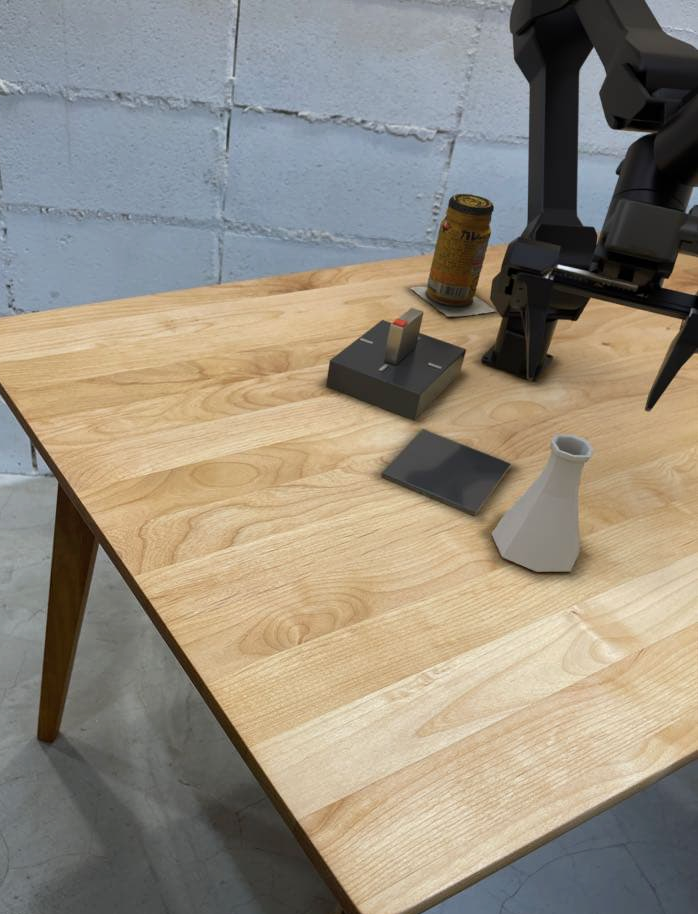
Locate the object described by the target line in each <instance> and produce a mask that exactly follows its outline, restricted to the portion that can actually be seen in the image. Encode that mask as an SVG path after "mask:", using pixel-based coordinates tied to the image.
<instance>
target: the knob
mask: <svg viewBox="0 0 698 914" xmlns="http://www.w3.org/2000/svg"><path fill="white" fill-rule="evenodd" d="M424 313H425V312H424V311H423V310H420V309H417V308H414V307H411V308H409V309H408V310H407V311H406V312H404V313H403V314H401V316H399V317H397V318H396V319H395V320H393V321H392V322H391V323H392V324H391V325H390V330H389V336H388V341H387V346H386V351H385V356H384V361H386V362H389V363H392V364H394V365H396V364H397V363H399V362H400V361H401V360H402V359H403V358H404V357H405V356H407V355H408V354H409V353H410V352H411V351H412V350H413V349H415V348H416V346H417V341H418V336H419V333H421V327H422V322H423V318H424V317H423V316H424Z"/></svg>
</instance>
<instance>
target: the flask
mask: <svg viewBox="0 0 698 914" xmlns="http://www.w3.org/2000/svg"><path fill="white" fill-rule="evenodd" d="M549 447H550V449H551V452H550V455H549V458H548V460H547V463H546V464H545V466H544V468H543V470H542V471H541V473H540V475H539V476H538V477H537V478H536V479H535V480H534V481H533V483H531V485H530V486H529V487H528V489H526V491H525V492H524V493H523V494H522V495H521V496H520V497H519V499H517V500H516V501H515V503H513V504H512V505H511V507H510V508H509V509H508V510H507V511H506V512H505V513H504V514H503V515H502V517H501V518H500V521H499V522H498V523H497V525H496V526H495V528H494V530H493V531H492V533H491V536H492V539H493V540H494V542H495V544H496V548H497V549H498V551H499V554H500V555H501V557H502V558H503V559H506V560H508V561H510V562H513V563H515V564H517V565H520V566H522V567H524V568H527V569H530V570H532V571H534V572H536V573H537V572H538V573H540V572H546V573H547V572H551V573H552V572H571V571H572V569H573V567H574V565H575V563H576V561H577V559H578V557H579V555H580V552H581V545H580V543H581V542H580V521H579V489H580V484H581V483H580V482H581V477H582V472H583V468H584V466H585V464H586V463H588V462H589V461H590V459H591V458H592V455H593V453H594V451H595V448H594V447H593V445H592V443H591V442H590V441H589V439H587V438H584V437H582V436H579V435H577V434H573V433H555V435H554V436H553V438H552V439H551V441H550V443H549Z"/></svg>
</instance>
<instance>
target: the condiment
mask: <svg viewBox="0 0 698 914" xmlns="http://www.w3.org/2000/svg"><path fill="white" fill-rule="evenodd" d="M494 209H495V207H494V204H493V202H492V201H491V200H490V199H488V198H486V197H484V196H481V195H476V194H471V193H459V194H458V193H456V194H454V195H451V197H450V198H449V199H448V204H447V208H446V211H445V217H444V218H443V219H442V220H441V222H440V224H439V225H440V226H439V229H438V233H437V234H438V235H437V239H436V243H435V246H434V252H433V256H432V262H431V266H430V271H429V275H428V279H427V284H426V286H412V287H410V289H411V290H412V291H413V292H415V293H416V295H418V296H420V298H422V299H423V300H425V302H427V303H428V304H431V305H432V306H433V307H434V308H435V309H437V311H439V312H441V313H443V315H445V316H446V317H447V318H448V317H454V318H455V317H465V316H473V315H474V316H477V315H481V314H489V313H492V312H493V313H494V312H496V309H495V308H493V307H491V306H490V305H489V304H487V303H486V302H484V300H482V299H480V298H479V297H477V296H476V292H477V289H478V288H477V287H478V285H479V281H480V276H481V272H482V269H483V265H484V261H485V258H486V253H487V250H488V247H489V241H490V238H491V234H492V229H491V226H490V224H491V222H492V215H493V212H494Z"/></svg>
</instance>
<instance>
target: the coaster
mask: <svg viewBox="0 0 698 914" xmlns="http://www.w3.org/2000/svg"><path fill="white" fill-rule="evenodd" d="M511 467H512V463H511V462H509V461H505V460H503V459H500V458H498V457H495V456H493V455H491V454H487V453H485V452H482V451H480V450H478V449H475V448H472V447H470V446H468V445H465V444H463V443H461V442H457V441H454V440H452V439H449V438H447V437H444V436H442V435H439V434H437V433H434V432H432V431H429V430H427V429H424V428H423V429H422V430H421V431H420V432H419V433H418V434H417V435H416V436H415V437H414V438H413V439H412V440H411V441H410V442H409V443H408V444H407V445H406V446H405V447H404V449H403V450H401V452H400V453H399V454H398V455H397V456H396V457H395V458H394V459H393V460H392V461H391V462H390V463H389V464H388V465H387V466H386V468H384V470H383V471H381V475H380V477H381V478H383V479H386V480H387V481H390V482H393V483H395V484H397V485H400V486H402V487H405V488H407V489H409V490H412V491H414V492H416V493H419V494H421V495H424V496H426V497H428V498H431V499H433V500H435V501H438V502H440V503H443V504H445V505H447V506H449V507H452V508H454V509H457V510H459V511H461V512H464V513H466V514H468V515H470V516H474V517H476V515H477V514H478V513H479V511H480V510H481V508H482V507H483V506H484V504H485V503H486V502H487V500H488V499H489V498H490V496H491V495H492V494H493V492H494V490H495V489H496V488H497V487H498V485H499V484H500V483H501V481H502V480H503V478H504V477H505V475H506V474H507V473H508V471H509V470H510V469H511Z"/></svg>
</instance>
